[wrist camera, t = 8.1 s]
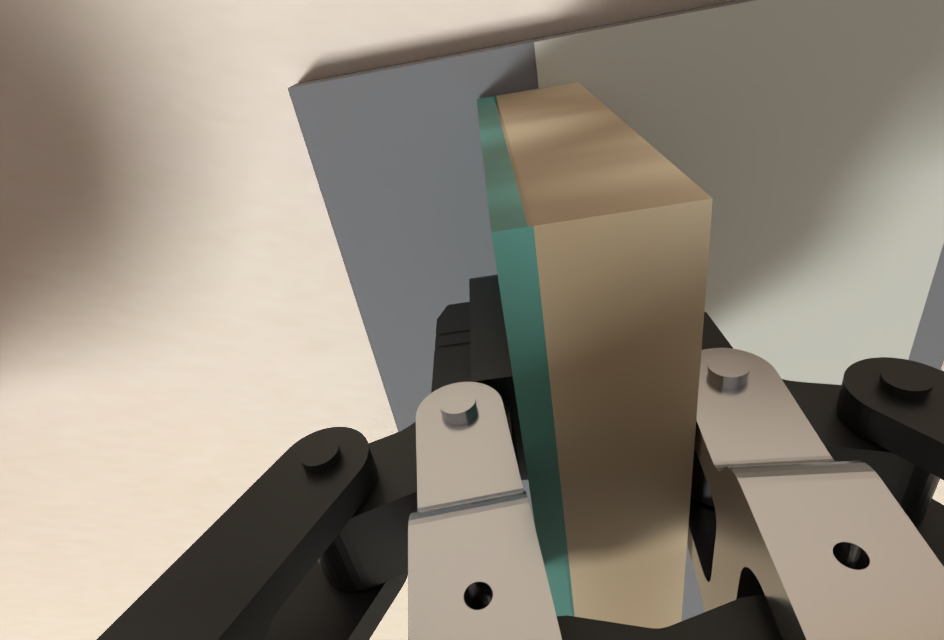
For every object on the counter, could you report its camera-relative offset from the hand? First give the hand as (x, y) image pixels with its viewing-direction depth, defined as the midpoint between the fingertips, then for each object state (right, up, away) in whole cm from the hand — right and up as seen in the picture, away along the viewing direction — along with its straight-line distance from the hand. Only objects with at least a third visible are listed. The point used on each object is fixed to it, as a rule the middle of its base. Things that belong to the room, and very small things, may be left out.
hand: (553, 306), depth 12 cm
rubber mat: (+4, -3, +5) cm, 7 cm away
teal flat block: (0, +1, +1) cm, 2 cm away
